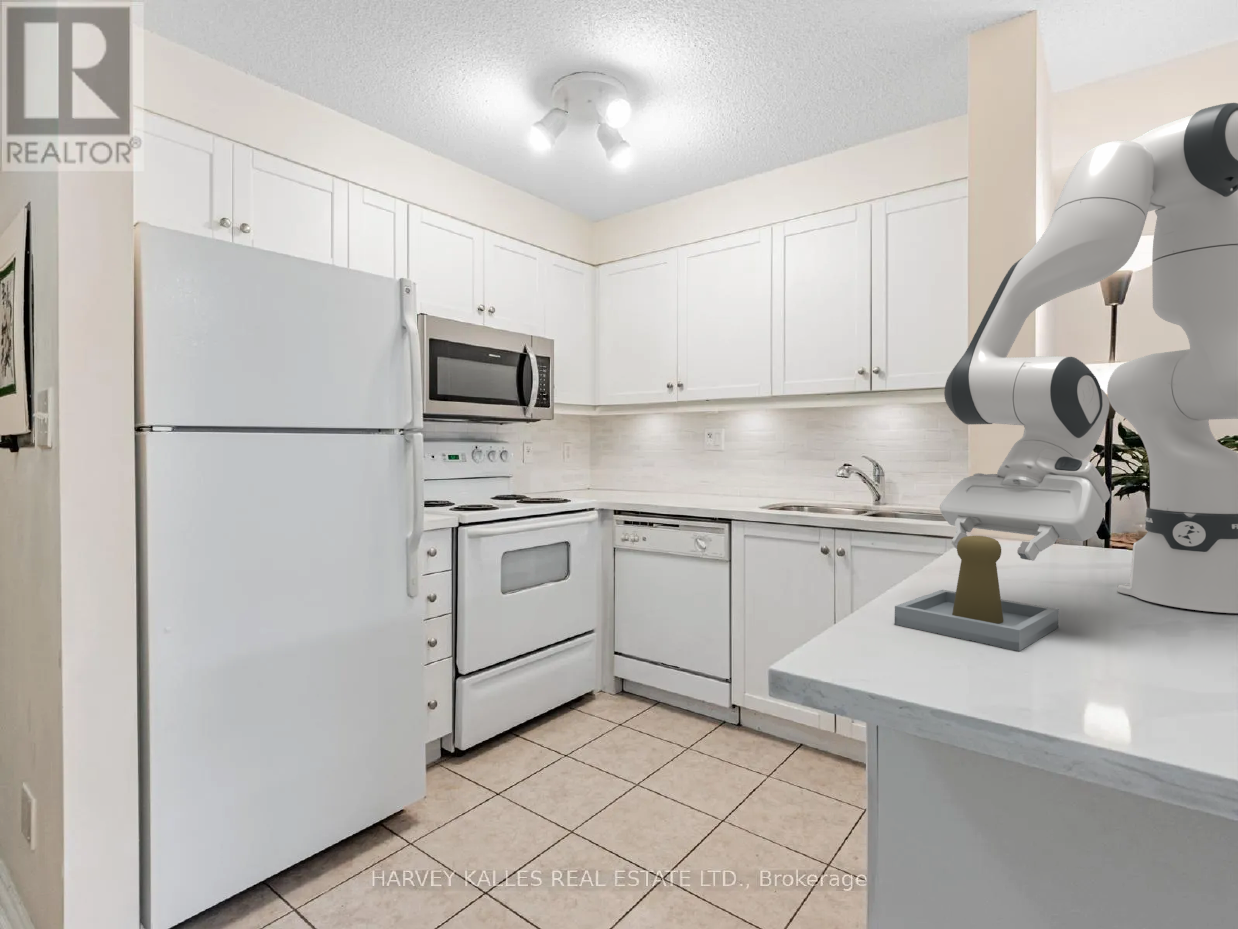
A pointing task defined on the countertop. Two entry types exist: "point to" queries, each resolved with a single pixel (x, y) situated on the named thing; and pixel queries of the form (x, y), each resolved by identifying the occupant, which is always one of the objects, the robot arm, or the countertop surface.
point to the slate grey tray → (978, 621)
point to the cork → (978, 580)
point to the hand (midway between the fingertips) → (989, 551)
